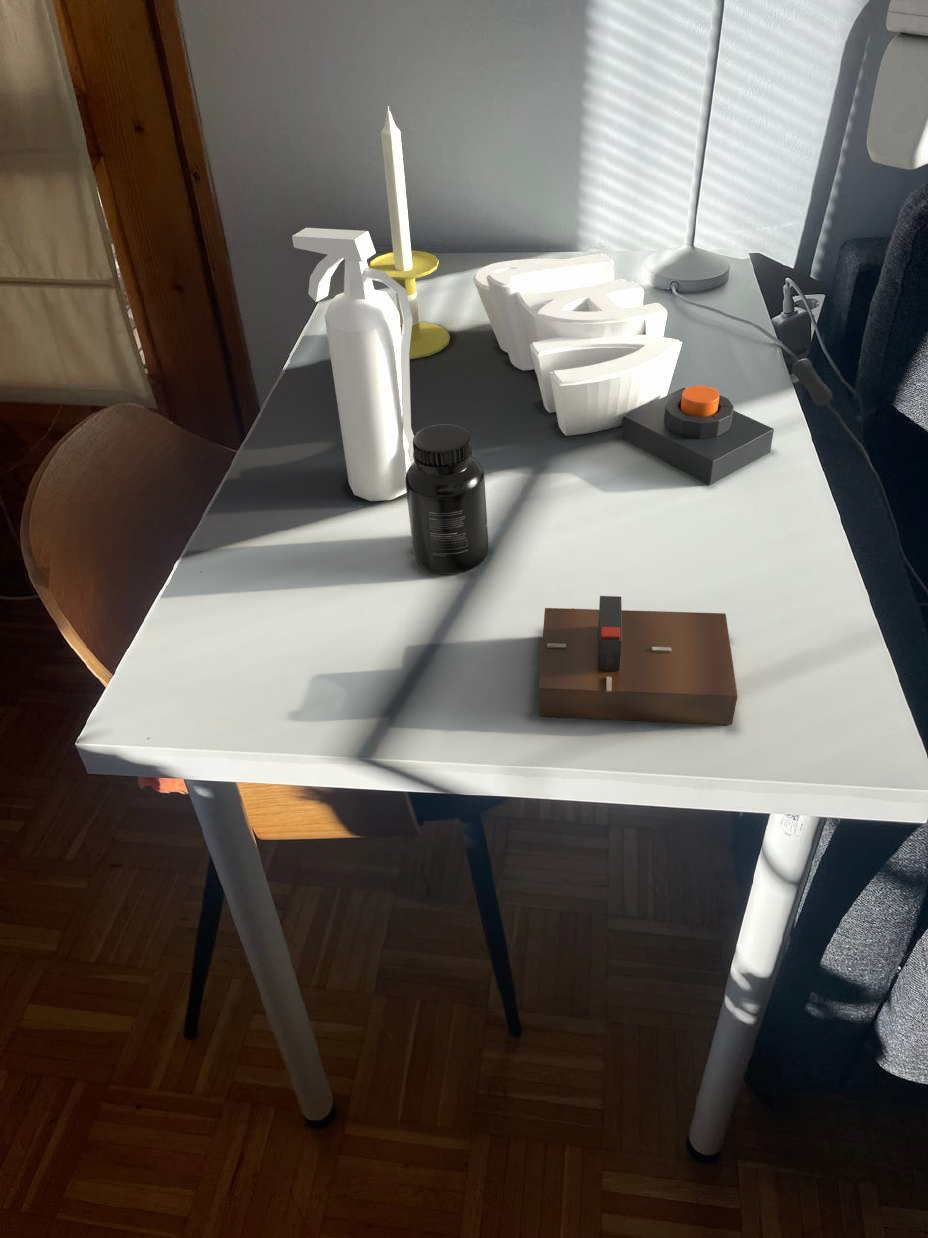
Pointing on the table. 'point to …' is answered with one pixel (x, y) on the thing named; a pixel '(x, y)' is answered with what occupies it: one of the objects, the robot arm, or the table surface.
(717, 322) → the table surface
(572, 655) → the dial panel
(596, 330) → the white wavy slab sculpture
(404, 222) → the candle
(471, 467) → the supplement bottle
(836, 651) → the table surface
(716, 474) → the push button base
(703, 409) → the orange push button
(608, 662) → the black rectangular block
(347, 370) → the fire extinguisher
